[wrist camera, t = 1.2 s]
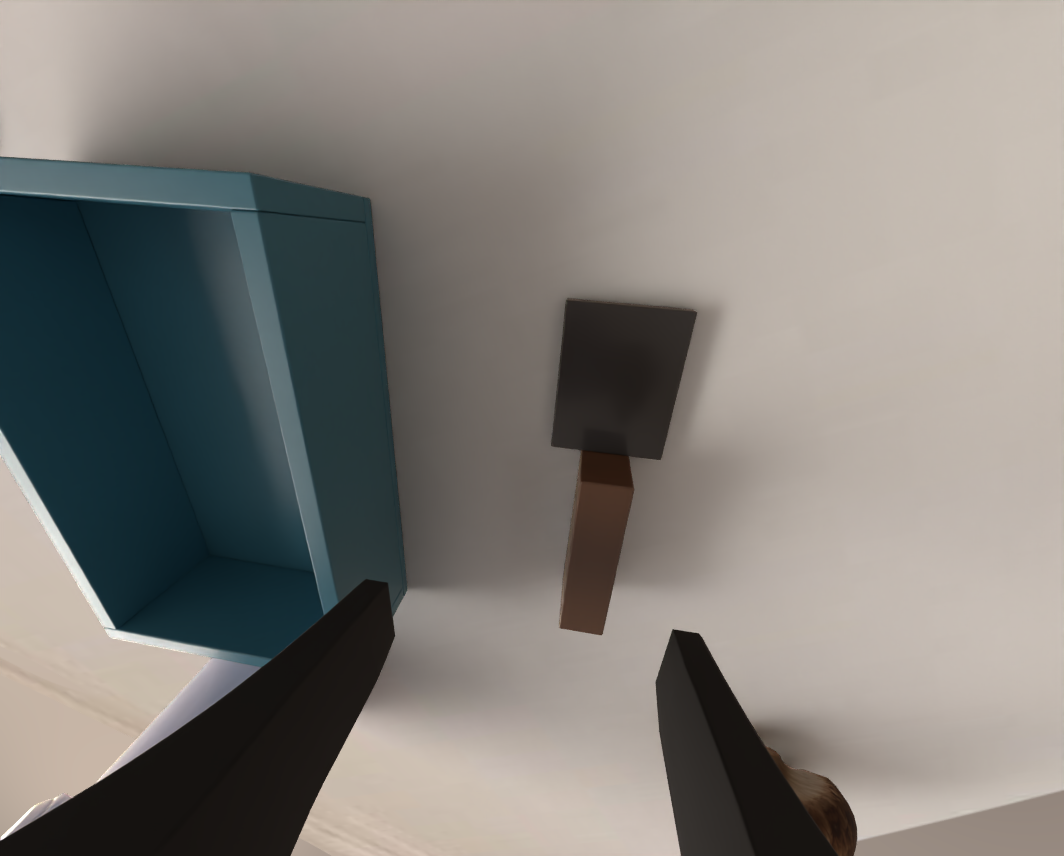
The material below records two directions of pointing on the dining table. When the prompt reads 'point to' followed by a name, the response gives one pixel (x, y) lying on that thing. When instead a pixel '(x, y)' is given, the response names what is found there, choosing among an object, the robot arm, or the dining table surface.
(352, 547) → the bin
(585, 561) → the scraper
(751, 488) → the dining table surface
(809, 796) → the mushroom
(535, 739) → the dining table surface
